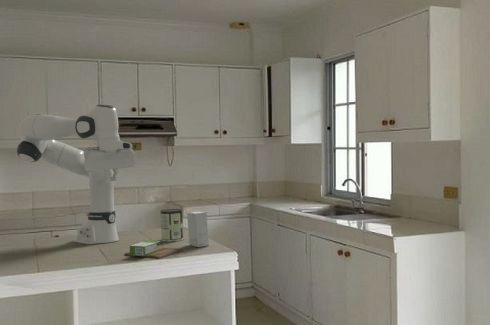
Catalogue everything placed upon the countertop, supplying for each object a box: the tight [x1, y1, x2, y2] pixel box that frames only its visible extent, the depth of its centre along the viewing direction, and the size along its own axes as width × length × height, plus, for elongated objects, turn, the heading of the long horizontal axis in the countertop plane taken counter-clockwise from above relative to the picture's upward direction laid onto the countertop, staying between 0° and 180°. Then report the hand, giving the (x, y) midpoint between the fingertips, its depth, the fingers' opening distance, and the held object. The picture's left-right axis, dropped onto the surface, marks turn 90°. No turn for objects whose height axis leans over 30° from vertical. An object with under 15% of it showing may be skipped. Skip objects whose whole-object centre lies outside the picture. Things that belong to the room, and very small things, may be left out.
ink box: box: [129, 239, 162, 257], centre depth 216 cm, size 7×4×13 cm
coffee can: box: [159, 208, 184, 243], centre depth 250 cm, size 10×10×14 cm
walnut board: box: [124, 246, 184, 259], centre depth 219 cm, size 18×16×1 cm
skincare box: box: [187, 210, 210, 248], centre depth 233 cm, size 8×6×15 cm
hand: (112, 181), depth 208 cm, fingers closed
